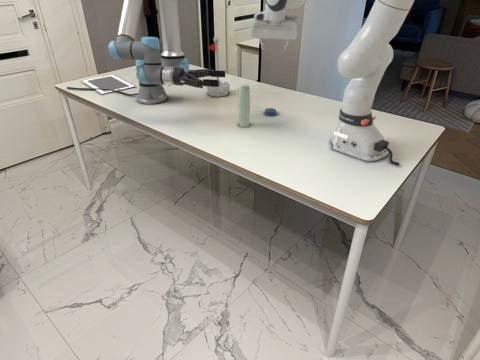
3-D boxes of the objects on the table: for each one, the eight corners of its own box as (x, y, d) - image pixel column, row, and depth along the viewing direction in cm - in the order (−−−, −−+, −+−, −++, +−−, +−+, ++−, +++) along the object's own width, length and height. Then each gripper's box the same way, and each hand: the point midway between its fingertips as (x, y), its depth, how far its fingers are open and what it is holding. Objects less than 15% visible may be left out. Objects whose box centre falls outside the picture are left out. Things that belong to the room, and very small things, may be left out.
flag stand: (225, 88, 199) (224, 33, 182) (233, 95, 188) (232, 38, 172) (204, 91, 195) (200, 35, 178) (210, 98, 184) (207, 39, 168)
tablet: (81, 81, 211) (81, 80, 210) (113, 75, 222) (113, 74, 222) (102, 94, 190) (101, 93, 190) (135, 86, 201) (135, 86, 201)
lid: (276, 112, 168) (276, 108, 167) (275, 116, 164) (275, 112, 163) (265, 111, 169) (265, 107, 168) (264, 115, 165) (264, 111, 164)
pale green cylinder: (237, 125, 155) (237, 85, 145) (242, 122, 158) (242, 82, 148) (246, 127, 153) (246, 87, 143) (251, 124, 156) (252, 84, 146)
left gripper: (183, 76, 161) (227, 78, 158) (165, 94, 140) (215, 96, 137) (182, 60, 157) (227, 62, 154) (163, 75, 136) (215, 78, 133)
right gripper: (300, 14, 143) (297, 49, 151) (253, 13, 147) (252, 47, 155) (299, 17, 138) (296, 52, 145) (250, 15, 142) (249, 50, 149)
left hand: (222, 78), depth 145 cm, fingers open, 13 cm apart
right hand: (273, 49), depth 150 cm, fingers open, 8 cm apart
